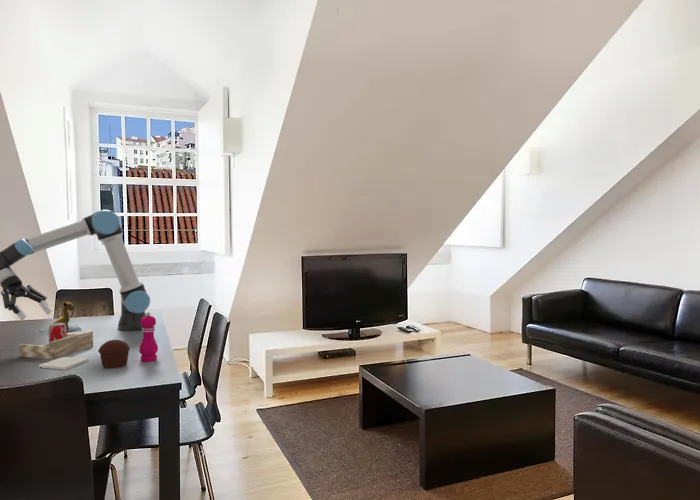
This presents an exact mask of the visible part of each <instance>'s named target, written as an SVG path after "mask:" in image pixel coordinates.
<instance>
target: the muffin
mask: <svg viewBox="0 0 700 500" xmlns="http://www.w3.org/2000/svg"><path fill="white" fill-rule="evenodd" d="M130 349H131V348H130V346H129V344H128V343H127V341H124V340H121V339H111V340H107V341H105V342H104V343H103V344H101V345H100V346H99V349H98V350H97V351H98V353H99V356H100V360H101V367H102V368H103V369H108V370H110V369H111V370H112V369H121V368H123V367H126V366H127V365H128V359H129V351H130Z"/></svg>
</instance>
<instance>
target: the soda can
mask: <svg viewBox="0 0 700 500" xmlns="http://www.w3.org/2000/svg"><path fill="white" fill-rule="evenodd" d="M48 328H49V329H48V330H49V331H48V332H49V333H48V343H49V346H50V342H52V341H56V340H59V339H63V338H66V337H67V333H68V331H67V327H66V325H65V323H53V322H52V323H50V325H49V327H48Z"/></svg>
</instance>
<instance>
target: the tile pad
mask: <svg viewBox="0 0 700 500" xmlns="http://www.w3.org/2000/svg"><path fill="white" fill-rule="evenodd" d="M88 362H89V359H88V358H83V357H82V358H81V357H79V358H78V357H69V356H67V357H66V356H63V357H62V356H61V357H58V358H55V359H52V360H50V361H48V362H44V363H40V364H39V365H38V366H39V368H40V367H42V368H43V369H52V370H53V369H54V370H64V371H65V370H68V369H72V368H74V367H76V366H80V365H82V364H85V363H88ZM42 368H41V369H42Z"/></svg>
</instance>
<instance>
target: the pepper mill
mask: <svg viewBox="0 0 700 500" xmlns="http://www.w3.org/2000/svg"><path fill="white" fill-rule="evenodd" d="M145 314H146V316H144V317H143V318H142V319H141V321H140V324H141V326H142V327H143V328H142V329H141V332H142V335H143V336H142V341H141V343H140V345H139V350H138V352H139V353H140V355H141V356H140V361H141V362H142V363H143V362H144V363H149V362H151V363H152V362H155V361H156V360H158V355H157V352H159V348H158V347H159V346H158V344H157V341H156V338H155V337H154V336H155V334H154V333H155V330H156V329H155V328H156V327H155V326H156V323H157V320H156V317H155V316H153V315H151V312H149V311H146V312H145Z"/></svg>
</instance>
